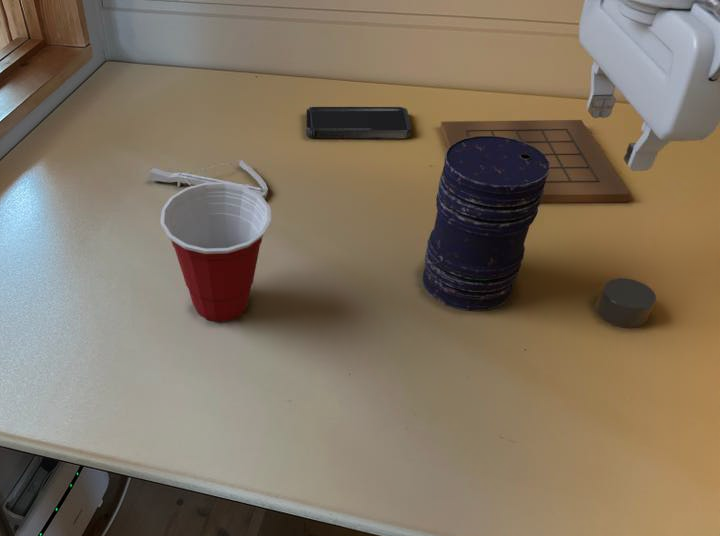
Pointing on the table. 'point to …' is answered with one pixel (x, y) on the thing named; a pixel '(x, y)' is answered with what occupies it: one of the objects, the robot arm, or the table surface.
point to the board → (555, 156)
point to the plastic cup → (217, 244)
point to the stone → (625, 302)
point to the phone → (357, 122)
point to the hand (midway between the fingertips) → (615, 139)
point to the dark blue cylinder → (483, 220)
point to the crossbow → (196, 179)
